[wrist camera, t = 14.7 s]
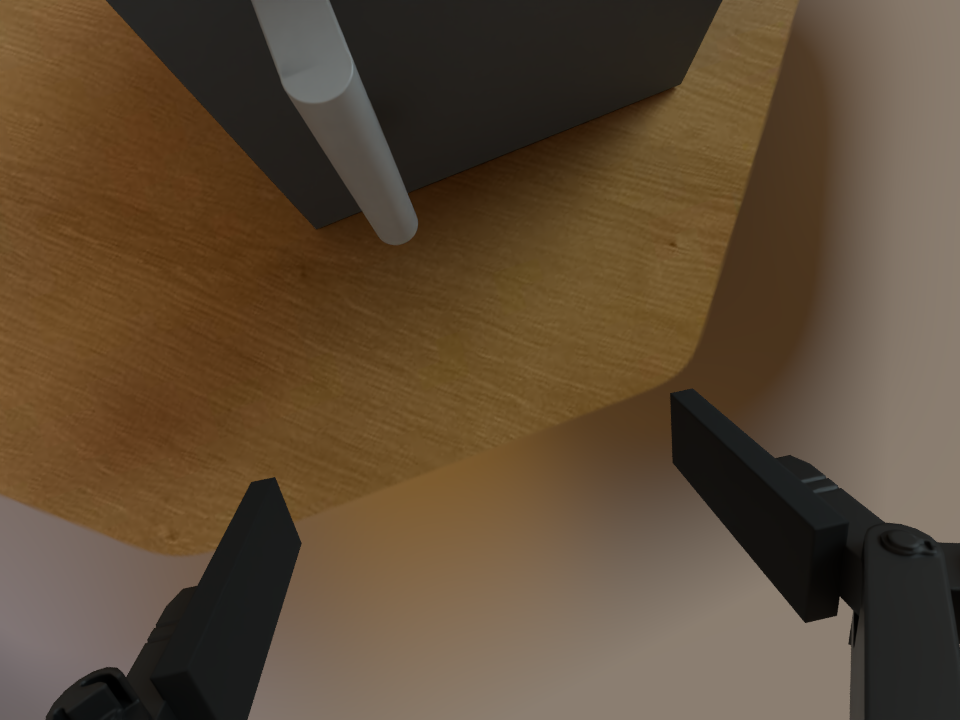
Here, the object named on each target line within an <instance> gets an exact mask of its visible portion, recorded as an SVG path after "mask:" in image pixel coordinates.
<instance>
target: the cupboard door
mask: <svg viewBox="0 0 960 720" xmlns="http://www.w3.org/2000/svg"><path fill="white" fill-rule="evenodd" d="M106 1H107V2H108V3H109V4H110V5H111V6H112V7H113V9H114V10H115V11H116V12H117V13H118V14H119V15H120V16H121V17H122V18H123V19H124V21H125V22H126V23H127V24H128V25H129V26H130V27H131V28H132V29H133V30H134V31H135V33H136V34H137V35H138V36H139V37H140V38H141V39H142V40H143V41H144V42H145V43H146V45H147V46H148V47H149V48H150V49H151V50H152V51H153V52H154V53H155V54H156V55H157V57H158V58H159V59H160V60H161V61H162V62H163V63H164V64H165V65H166V66H167V67H168V69H169V70H170V71H171V72H172V73H173V74H174V75H175V76H176V77H177V78H178V79H179V81H180V82H181V83H182V84H183V85H184V86H185V87H186V88H187V89H188V90H189V91H190V92H191V94H192V95H193V96H194V97H195V98H196V99H197V100H198V101H199V102H200V103H201V104H202V106H203V107H204V108H205V109H206V110H207V111H208V112H209V113H210V114H211V115H212V116H213V118H214V119H215V120H216V121H217V122H218V123H219V124H220V125H221V126H222V127H223V128H224V130H225V131H226V132H227V133H228V134H229V135H230V136H231V137H232V138H233V139H234V140H235V142H236V143H237V144H238V145H239V146H240V147H241V148H242V149H243V150H244V151H245V152H246V154H247V155H248V156H249V157H250V158H251V159H252V160H253V161H254V162H255V163H256V164H257V166H258V167H259V168H260V169H261V170H262V171H263V172H264V173H265V174H266V175H267V176H268V178H269V179H270V180H271V181H272V182H273V183H274V184H275V185H276V186H277V187H278V188H279V189H280V191H281V192H282V193H283V194H284V195H285V196H286V197H287V198H288V199H289V200H290V201H291V203H292V204H293V205H294V206H295V207H296V208H297V209H298V210H299V211H300V212H301V213H302V215H303V216H304V217H305V218H306V219H307V220H308V221H309V222H310V223H311V224H312V225H313V227H314V228H315V229H318V228H321V227H323V226H326V225H328V224H331V223H333V222H336V221H338V220H341V219H343V218H346V217H348V216H351V215H353V214H356V213H358V212H361V211H362V212H363V213H364V215H365V216H366V218H367V220H368V221H369V223H370V224H371V226H372V227H373V229H374V230H375V232H376V234H377V235H378V237H379V238H380V239H381V240H382V241H384V242H385V243H387V244H391V245H400V244H404V243H406V242H408V241H409V240H410V239H411V238H412V237H413V236H414V235H415V233H416V231H417V228H418V219H417V216H416V213H415V211H414V208H413V206H412V203H411V201H410V198H409V196H408V193H409V192H411V191H414V190H416V189H419V188H421V187H424V186H426V185H429V184H431V183H434V182H436V181H439V180H441V179H444V178H446V177H449V176H451V175H454V174H456V173H459V172H461V171H464V170H466V169H469V168H471V167H474V166H476V165H479V164H481V163H484V162H486V161H489V160H491V159H494V158H497V157H499V156H502V155H504V154H507V153H509V152H512V151H514V150H517V149H519V148H522V147H524V146H527V145H529V144H532V143H534V142H537V141H539V140H542V139H544V138H547V137H549V136H552V135H554V134H557V133H559V132H562V131H564V130H567V129H569V128H572V127H574V126H577V125H579V124H582V123H584V122H587V121H589V120H592V119H594V118H597V117H599V116H602V115H604V114H607V113H610V112H612V111H615V110H617V109H620V108H622V107H625V106H627V105H630V104H632V103H635V102H637V101H640V100H642V99H645V98H647V97H650V96H652V95H655V94H657V93H660V92H662V91H665V90H667V89H670V88H672V87H675V86H677V85H680V84H681V83H682V81H683V79H684V77H685V75H686V73H687V71H688V69H689V67H690V65H691V63H692V61H693V59H694V57H695V55H696V53H697V51H698V49H699V47H700V45H701V42H702V40H703V38H704V36H705V34H706V32H707V30H708V28H709V26H710V24H711V22H712V20H713V18H714V16H715V14H716V12H717V10H718V8H719V6H720V4H721V2H722V0H106Z"/></svg>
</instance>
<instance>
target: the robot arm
mask: <svg viewBox="0 0 960 720" xmlns="http://www.w3.org/2000/svg"><path fill="white" fill-rule="evenodd" d="M670 400H671V426H672V427H671V429H672V457H673V464H674V465H675V466H676V467H677V469H678V470H679V471H680V472H681V473H682V474H683V476H684V477H685V478H686V479H687V481H688V482H689V483H690V484H691V485H692V487H693V488H694V489H695V490H696V492H697V493H698V494H699V495H700V496H701V498H702V499H703V500H704V501H705V502H706V503H707V505H708V506H709V507H710V508H711V510H712V511H713V512H714V513H715V514H716V516H717V517H718V518H719V519H720V521H721V522H722V523H723V524H724V525H725V526H726V528H727V529H728V530H729V531H730V533H731V534H732V535H733V536H734V537H735V539H736V540H737V541H738V542H739V544H740V545H741V546H742V547H743V548H744V549H745V551H746V552H747V553H748V554H749V556H750V557H751V558H752V559H753V560H754V562H755V563H756V564H757V565H758V566H759V568H760V569H761V570H762V571H763V573H764V574H765V575H766V576H767V577H768V579H769V580H770V581H771V582H772V583H773V585H774V586H775V587H776V588H777V589H778V591H779V592H780V593H781V594H782V595H783V597H784V598H785V599H786V600H787V601H788V603H789V604H790V605H791V606H792V608H793V609H794V610H795V611H796V612H797V614H798V615H799V616H800V617H801V618H802V620H803V621H804V622H805V623H807V622H812V621H816V620H820V619H825V618H829V617H833V616H837V612H838V605H839V597H841V598H842V599H843V600H844V601H845V602H846V603H847V604H848V605H849V606H850V607H851V608H852V609H853V617H852V624H851V630H850V637H849V645H851V684H850V720H960V645H959V644H960V543H939V542H936V541H935V540H934V539H933V538H932V537H930V536H929V535H927V534H925V533H923V532H921V531H919V530H918V529H915V528H912V527H908V526H905V525H902V524H893V523H885V522H884V521H882V520H881V519H880V518H879V517H877V516H876V515H875V514H873V513H872V512H871V511H869V510H868V509H867V508H866V507H865V506H863V505H862V504H861V503H859V502H858V501H857V500H856V499H854V498H853V497H852V496H850V495H849V494H848V493H847V492H845V491H844V490H843V489H842V488H838V485H836V484H835V483H834V482H833V481H831V480H830V479H829V478H826V476H825V475H824V474H823V473H821V472H820V471H818V470H817V469H816V468H815V467H813V466H812V465H811V464H809V463H807V462H805V461H802V460H800V459H798V458H795V457H793V456H791V455H788V456H784V457H779V458H774V457H773V456H772V455H770V454H769V453H768V452H767V451H765V450H764V449H763V448H762V447H761V446H760V445H758V444H757V443H756V442H755V441H754V440H753V439H751V438H750V437H749V436H748V435H747V434H746V433H744V432H743V431H742V430H741V429H740V428H738V427H737V426H736V425H735V424H734V423H733V422H731V421H730V420H729V419H728V418H727V417H726V416H724V415H723V414H722V413H721V412H720V411H718V410H717V409H716V408H715V407H714V406H712V405H711V404H710V403H709V402H708V401H707V400H706V399H704V398H703V397H702V396H701V395H700V394H698V393H697V392H696V391H695V390H694V389H688V390H684V391H679V392H674V393H670ZM300 547H301V541H300V538H299V536H298V533H297V531H296V528H295V526H294V523H293V521H292V518H291V516H290V513H289V511H288V508H287V506H286V503H285V501H284V498H283V496H282V493H281V491H280V488H279V486H278V483H277V481H276V478H275V477H273V478H269V479H264V480H259V481H254V482H251V484H250V486H249V488H248V489H247V491H246V493H245V495H244V497H243V499H242V501H241V503H240V505H239V507H238V509H237V511H236V513H235V514H234V516H233V518H232V520H231V522H230V524H229V526H228V528H227V530H226V532H225V534H224V536H223V538H222V539H221V541H220V543H219V545H218V547H217V549H216V551H215V553H214V555H213V557H212V559H211V561H210V563H209V564H208V566H207V568H206V570H205V572H204V574H203V576H202V578H201V580H200V582H199V584H198V586H194V587H189V588H185V589H183V590H181V591H180V593H179V594H178V595H177V596H176V597H175V598H174V599H173V600H172V601H171V602H170V603H169V604H168V605H167V606H166V608H165V609H164V611H163V613H162V615H161V617H160V618H159V620H158V622H157V624H156V628H154V629H153V631H152V632H151V634H150V636H149V638H148V643H145V645H144V647H143V649H142V650H141V652H140V654H139V655H138V657H137V659H136V661H135V662H134V664H133V666H132V668H131V670H130V671H129V673H128V675H127V677H125V675H124V674H123V673H122V672H121V671H120V670H119V669H118V668H113V667H106V668H103V669H100V670H96V671H94V672H92V673H90V674H88V675H87V676H85V677H83V678H81V679H79V680H78V681H77V682H76V683H75V684H73V685H72V686H70V687H69V688H68V689H67V690H65V691H64V692H63V694H62V695H61V696H60V697H59V698H58V699H57V700H56V701H55V702H54V704H53V705H52V707H51V709H50V711H49V712H48V714H47V716H46V720H247V719H248V716H249V713H250V709H251V706H252V703H253V700H254V696H255V693H256V690H257V687H258V683H259V680H260V677H261V674H262V670H263V667H264V664H265V661H266V657H267V654H268V650H269V648H270V644H271V641H272V637H273V634H274V631H275V628H276V625H277V622H278V618H279V615H280V612H281V609H282V605H283V602H284V599H285V595H286V592H287V589H288V586H289V583H290V579H291V576H292V573H293V569H294V566H295V562H296V560H297V556H298V553H299V550H300Z"/></svg>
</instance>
